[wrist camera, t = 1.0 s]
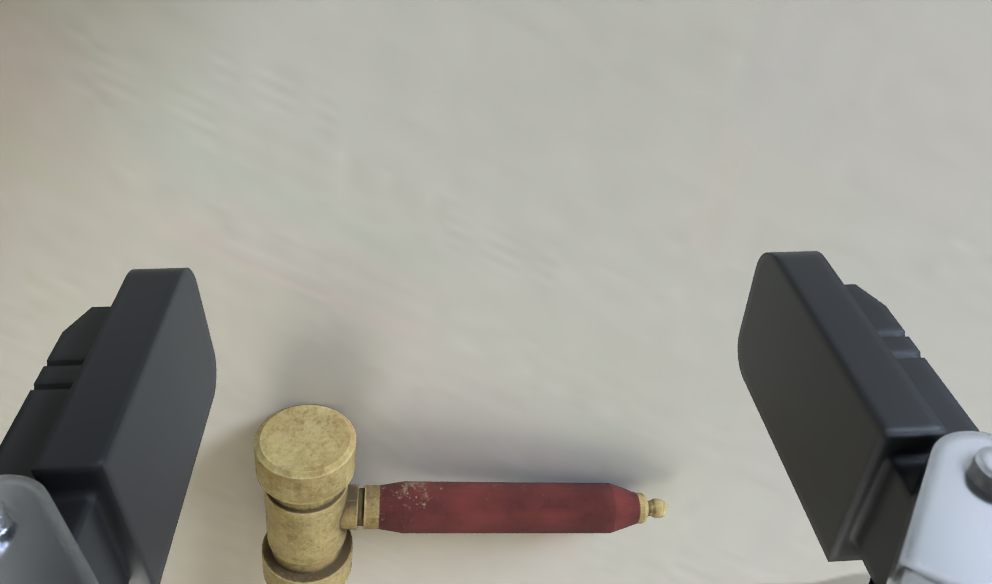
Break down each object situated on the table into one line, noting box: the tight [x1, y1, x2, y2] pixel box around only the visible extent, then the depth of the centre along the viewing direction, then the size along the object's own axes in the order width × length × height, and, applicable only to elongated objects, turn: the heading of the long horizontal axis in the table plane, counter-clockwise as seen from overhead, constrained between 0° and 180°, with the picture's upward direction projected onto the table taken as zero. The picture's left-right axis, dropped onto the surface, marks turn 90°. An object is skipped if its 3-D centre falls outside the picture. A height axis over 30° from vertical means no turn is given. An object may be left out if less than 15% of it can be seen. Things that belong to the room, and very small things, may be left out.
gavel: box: [254, 405, 667, 584], centre depth 42 cm, size 21×5×10 cm
